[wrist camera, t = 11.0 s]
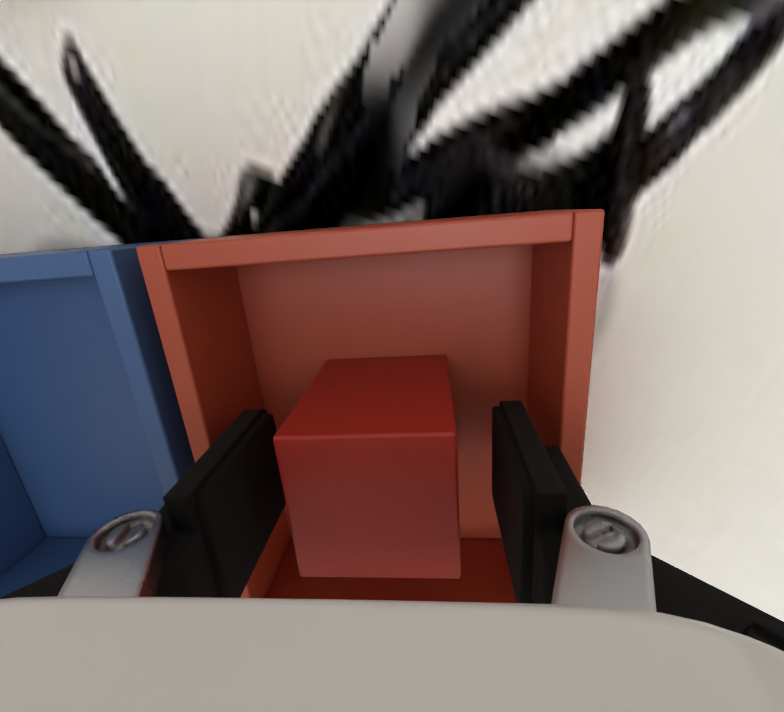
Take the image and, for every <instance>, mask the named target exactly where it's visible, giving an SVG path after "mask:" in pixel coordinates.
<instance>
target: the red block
mask: <svg viewBox="0 0 784 712" xmlns="http://www.w3.org/2000/svg"><path fill="white" fill-rule="evenodd" d="M273 442H274V447H275V452H276V457H277V462H278V467H279V472H280V477H281V483H282V488H283V493H284V498H285V503H286V508H287V513H288V518H289V523H290V528H291V533H292V538H293V543H294V548H295V553H296V558H297V563H298V568H299V573H300V576H302V577H374V578H448V579H458V578H460V576H461V557H460V523H459V489H458V455H457V431H456V423H455V415H454V407H453V399H452V391H451V383H450V375H449V367H448V359H447V356H446V355H427V356H405V357H383V358H361V359H339V360H327V361H326V362H325V363H324V365H323V366H322V368H321V369H320V370H319V372H318V373H317V375H316V376H315V378H314V379H313V381H312V382H311V383H310V385H309V386H308V388H307V389H306V391H305V392H304V393H303V395H302V396H301V398H300V399H299V401H298V402H297V404H296V405H295V406H294V408H293V409H292V411H291V412H290V414H289V415H288V417H287V418H286V419H285V421H284V422H283V424H282V425H281V427H280V428H279V429H278V431H277V432H276V434H275V435H274V437H273Z"/></svg>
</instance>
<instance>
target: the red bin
mask: <svg viewBox="0 0 784 712" xmlns="http://www.w3.org/2000/svg"><path fill="white" fill-rule="evenodd" d="M603 223H604V210H602V209H575V210H542V211H529V212H517V213H505V214H492V215H480V216H468V217H456V218H443V219H431V220H419V221H406V222H394V223H382V224H369V225H357V226H345V227H332V228H320V229H308V230H296V231H283V232H271V233H259V234H246V235H234V236H222V237H213V238H205V239H196V240H187V241H179V242H170V243H161V244H153V245H144V246H138V247H136V251H137V255H138V258H139V262H140V266H141V269H142V273H143V276H144V280H145V284H146V287H147V291H148V294H149V298H150V302H151V305H152V309H153V313H154V316H155V320H156V323H157V327H158V331H159V334H160V338H161V341H162V345H163V349H164V352H165V356H166V359H167V363H168V367H169V370H170V374H171V378H172V381H173V385H174V388H175V392H176V396H177V399H178V403H179V406H180V410H181V414H182V417H183V421H184V424H185V428H186V432H187V435H188V439H189V443H190V446H191V450H192V453H193V457H194V461H195V462H196V461H197V460H198V459H199V458H200V457H201V456H202V455H203V454H204V453H205V452H206V451H207V450H208V448H209V447H210V446H211V445H212V444H213V443H214V442H215V441H216V440H217V439H218V438H219V437H220V436H221V434H222V433H223V432H224V431H225V430H226V429H227V428H228V427H229V426H230V425H231V424H232V423H233V422H234V420H235V419H236V418H237V417H238V416H239V415H240V414H241V413H242V412H243V411H244V410H247V409H265V410H266V411H267V412H268V414H272V415H273V417H274V421H275V426H276V431H278V429H279V428H280V427H281V425H282V424H283V422H284V421H285V419H286V418H287V417H288V415H289V414H290V412H291V411H292V409H293V408H294V406H295V405H296V404H297V402H298V401H299V399H300V398H301V396H302V395H303V393H304V392H305V391H306V389H307V388H308V386H309V385H310V383H311V382H312V381H313V379H314V378H315V376H316V375H317V373H318V372H319V370H320V369H321V368H322V366H323V365H324V363H325V362H326V361H327V360H339V359H361V358H383V357H405V356H427V355H446V356H447V359H448V367H449V375H450V383H451V391H452V399H453V407H454V415H455V423H456V431H457V455H458V489H459V523H460V557H461V576H460V578H458V579H448V578H374V577H302V576H300V573H299V568H298V563H297V558H296V553H295V548H294V543H293V538H292V533H291V528H290V523H289V518H288V513H287V508H286V505H285V507H284V509H283V511H282V513H281V515H280V517H279V519H278V521H277V523H276V525H275V527H274V529H273V531H272V533H271V535H270V538H269V540H268V542H267V544H266V546H265V548H264V550H263V552H262V554H261V556H260V558H259V560H258V562H257V564H256V566H255V568H254V570H253V572H252V574H251V577H250V579H249V581H248V583H247V585H246V587H245V589H244V591H243V593H242V595H241V597H240V598H284V599H344V600H395V601H439V602H483V603H517V602H516V598H515V594H514V589H513V585H512V581H511V576H510V572H509V567H508V563H507V559H506V554H505V550H504V546H503V541H502V537H501V533H500V528H499V524H498V520H497V515H496V511H495V506H494V502H493V496H492V407H493V406H499V403H500V401H512V400H521V401H522V403H523V405H524V407H525V409H526V411H527V413H528V415H529V417H530V419H531V421H532V423H533V425H534V427H535V429H536V431H537V433H538V435H539V437H540V439H541V441H542V443H543V445H544V446H558V447H559V448H560V450H561V452H562V453H563V455H564V457H565V459H566V460H567V462H568V464H569V466H570V468H571V469H572V471H573V473H574V475H575V476H576V478H577V480H578V482H579V484H580V485H581V473H582V462H583V450H584V439H585V428H586V416H587V405H588V393H589V382H590V371H591V359H592V348H593V337H594V325H595V314H596V302H597V291H598V280H599V268H600V257H601V245H602V234H603Z"/></svg>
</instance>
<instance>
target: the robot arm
mask: <svg viewBox="0 0 784 712" xmlns="http://www.w3.org/2000/svg"><path fill="white" fill-rule="evenodd" d="M276 432H277V431H276V426H275V421H274V417H273V415H272V414H268V412H267V411H266V410H265V409H247V410H244V411H243V412H242V413H241V414H240V415H239V416H238V417H237V418H236V419H235V420H234V422H233V423H232V424H231V425H230V426H229V427H228V428H227V429H226V430H225V431H224V432H223V433H222V434H221V436H220V437H219V438H218V439H217V440H216V441H215V442H214V443H213V444H212V445H211V446H210V447H209V448H208V450H207V451H206V452H205V453H204V454H203V455H202V456H201V457H200V458H199V459H198V460H197V461H196V462H195V463H194V465H193V466H192V467H191V468H190V469H189V470H188V471H187V472H186V473H185V474H184V475H183V476H182V477H181V479H180V480H179V481H178V482H177V483H176V484H175V485H174V486H173V487H172V488H171V489H170V490H169V491H168V493H167V494H166V495H165V496H164V497H163V500H164V504H165V505H164V506H163V507H162V508H161V509H160V510H159V511H156V510H154V509H139V510H133V511H130V512H127V513H124V514H122V515H119V516H117V517H115V518H113V519H111V520H110V521H108V522H106V523H105V524H103V525H102V526H100V527H99V528H98V529H97V530H96V531H95V532H94V533H92V535H91V536H90V537H89V539H88V540H87V542H86V543H85V545H84V547H83V549H82V551H81V553H80V555H79V557H78V558H77V560H76V562H75V563H74V564H71V565H69V566H67V567H65V568H63V569H61V570H59V571H56V572H54V573H52V574H50V575H48V576H46V577H43V578H41V579H39V580H37V581H35V582H33V583H31V584H28V585H26V586H24V587H22V588H20V589H18V590H16V591H13V592H11V593H9V594H7V595H5V596H3V597H0V712H784V622H783V621H781V620H779V619H777V618H775V617H773V616H771V615H769V614H767V613H765V612H763V611H761V610H759V609H757V608H755V607H753V606H751V605H749V604H747V603H745V602H743V601H741V600H739V599H737V598H735V597H733V596H731V595H729V594H727V593H725V592H723V591H721V590H719V589H717V588H715V587H713V586H711V585H709V584H707V583H706V582H704V581H702V580H700V579H698V578H696V577H694V576H692V575H690V574H688V573H686V572H684V571H682V570H680V569H678V568H676V567H674V566H672V565H670V564H668V563H666V562H664V561H662V560H660V559H658V558H656V557H654V556H652V555H651V548H650V541H649V538H648V535H647V533H646V531H645V530H644V529H643V527H642V526H641V525H640V524H639V523H638V522H636V521H635V520H634V519H632V518H631V517H630V516H628V515H626V514H624V513H622V512H620V511H618V510H614V509H611V508H608V507H603V506H596V505H591V503H590V501H589V500H588V498H587V496H586V494H585V492H584V491H583V489H582V487H581V485H580V484H579V482H578V480H577V478H576V476H575V475H574V473H573V471H572V469H571V468H570V466H569V464H568V462H567V460H566V459H565V457H564V455H563V453H562V452H561V450H560V448H559V447H558V446H544V445H543V443H542V441H541V439H540V437H539V435H538V433H537V431H536V429H535V427H534V425H533V423H532V421H531V419H530V417H529V415H528V413H527V411H526V409H525V407H524V405H523V403H522V401H521V400H512V401H500V403H499V406H493V407H492V496H493V502H494V506H495V511H496V515H497V520H498V524H499V528H500V533H501V537H502V541H503V546H504V550H505V554H506V559H507V563H508V567H509V572H510V576H511V581H512V585H513V589H514V594H515V598H516V602H517V603H483V602H439V601H395V600H344V599H284V598H240V597H241V595H242V593H243V591H244V589H245V587H246V585H247V583H248V581H249V579H250V577H251V574H252V572H253V570H254V568H255V566H256V564H257V562H258V560H259V558H260V556H261V554H262V552H263V550H264V548H265V546H266V544H267V542H268V540H269V538H270V535H271V533H272V531H273V529H274V527H275V525H276V523H277V521H278V519H279V517H280V515H281V513H282V511H283V509H284V507H285V505H286V503H285V498H284V493H283V488H282V483H281V477H280V472H279V467H278V462H277V457H276V452H275V447H274V442H273V437H274V435H275V434H276Z"/></svg>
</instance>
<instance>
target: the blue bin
mask: <svg viewBox="0 0 784 712" xmlns="http://www.w3.org/2000/svg"><path fill="white" fill-rule="evenodd" d="M197 239H201V238H197ZM187 240H196V239H185V240H172V241H160V242H148V243H136V244H123V245H111V246H99V247H86V248H74V249H62V250H49V251H37V252H25V253H12V254H0V597H3V596H5V595H7V594H9V593H11V592H13V591H16V590H18V589H20V588H22V587H24V586H26V585H28V584H31V583H33V582H35V581H37V580H39V579H41V578H43V577H46V576H48V575H50V574H52V573H54V572H56V571H59V570H61V569H63V568H65V567H67V566H69V565H71V564H74V563H75V562H76V560H77V558H78V557H79V555H80V553H81V551H82V549H83V547H84V545H85V543H86V542H87V540H88V539H89V537H90V536H91V535H92V533H94V532H95V531H96V530H97V529H98V528H99V527H100V526H102V525H103V524H105V523H106V522H108V521H110V520H111V519H113V518H115V517H117V516H119V515H122V514H124V513H127V512H130V511H133V510H139V509H154V510H156V511H159V510H160V509H161V508H162V507H163V506H164V505H165V504H164V500H163V497H164V496H165V495H166V494H167V493H168V491H169V490H170V489H171V488H172V487H173V486H174V485H175V484H176V483H177V482H178V481H179V480H180V479H181V477H182V476H183V475H184V474H185V473H186V472H187V471H188V470H189V469H190V468H191V467H192V466H193V465H194V463H195V461H194V457H193V453H192V450H191V446H190V443H189V439H188V435H187V432H186V428H185V424H184V421H183V417H182V414H181V410H180V406H179V403H178V399H177V396H176V392H175V388H174V385H173V381H172V378H171V374H170V370H169V367H168V363H167V359H166V356H165V352H164V349H163V345H162V341H161V338H160V334H159V331H158V327H157V323H156V320H155V316H154V313H153V309H152V305H151V302H150V298H149V294H148V291H147V287H146V284H145V280H144V276H143V273H142V269H141V266H140V262H139V258H138V255H137V251H136V247H138V246H144V245H153V244H161V243H170V242H179V241H187Z"/></svg>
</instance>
